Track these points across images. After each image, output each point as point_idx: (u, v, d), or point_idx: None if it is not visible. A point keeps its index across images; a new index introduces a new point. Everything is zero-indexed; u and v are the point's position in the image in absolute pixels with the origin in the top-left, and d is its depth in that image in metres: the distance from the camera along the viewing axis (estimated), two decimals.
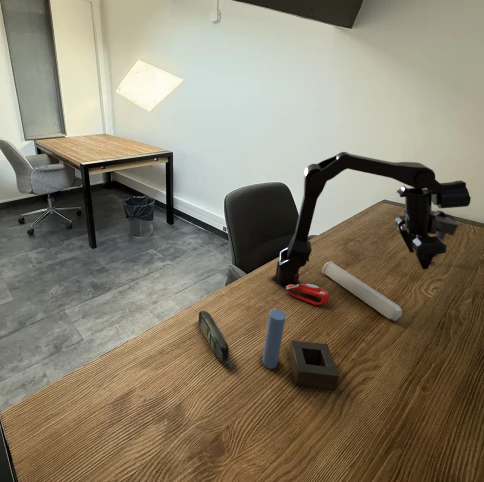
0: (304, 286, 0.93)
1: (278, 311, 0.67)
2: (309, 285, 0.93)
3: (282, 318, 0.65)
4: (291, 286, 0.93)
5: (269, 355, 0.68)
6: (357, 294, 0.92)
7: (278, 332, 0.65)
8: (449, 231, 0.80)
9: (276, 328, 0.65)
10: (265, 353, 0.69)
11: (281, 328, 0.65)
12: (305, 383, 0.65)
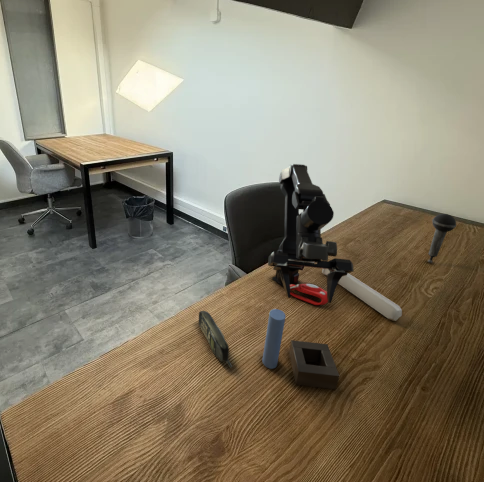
0: (304, 286, 0.93)
1: (278, 311, 0.67)
2: (309, 285, 0.93)
3: (282, 318, 0.65)
4: (291, 286, 0.93)
5: (269, 355, 0.68)
6: (357, 294, 0.92)
7: (278, 332, 0.65)
8: (304, 253, 0.69)
9: (276, 328, 0.65)
10: (265, 353, 0.69)
11: (281, 328, 0.65)
12: (305, 383, 0.65)
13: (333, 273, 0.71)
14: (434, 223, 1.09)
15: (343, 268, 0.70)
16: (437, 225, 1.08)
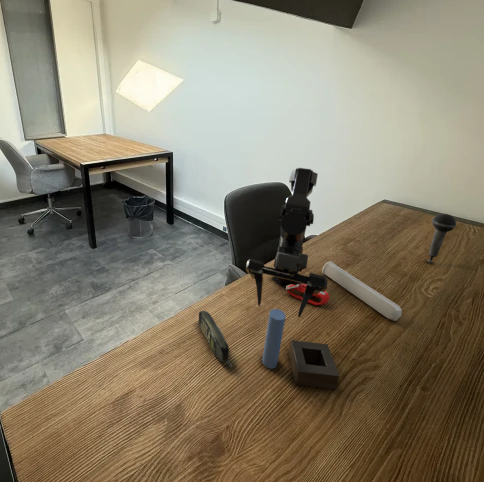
0: (304, 286, 0.93)
1: (278, 311, 0.67)
2: None
3: (282, 318, 0.65)
4: (291, 286, 0.93)
5: (269, 355, 0.68)
6: (357, 294, 0.92)
7: (278, 332, 0.65)
8: None
9: (276, 328, 0.65)
10: (265, 353, 0.69)
11: (281, 328, 0.65)
12: (305, 383, 0.65)
13: (306, 287, 0.70)
14: (434, 223, 1.09)
15: (316, 283, 0.69)
16: (437, 225, 1.08)
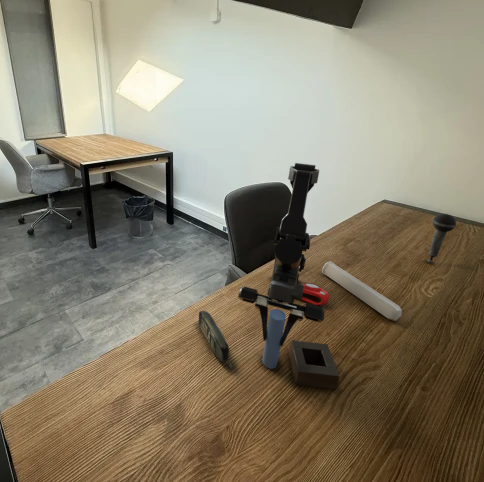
0: (304, 286, 0.93)
1: (278, 311, 0.67)
2: (309, 285, 0.93)
3: (282, 318, 0.65)
4: None
5: (269, 355, 0.68)
6: (357, 294, 0.92)
7: (278, 332, 0.65)
8: None
9: (276, 328, 0.65)
10: (265, 353, 0.69)
11: (281, 328, 0.65)
12: (305, 383, 0.65)
13: None
14: (434, 223, 1.09)
15: (312, 315, 0.65)
16: (437, 225, 1.08)
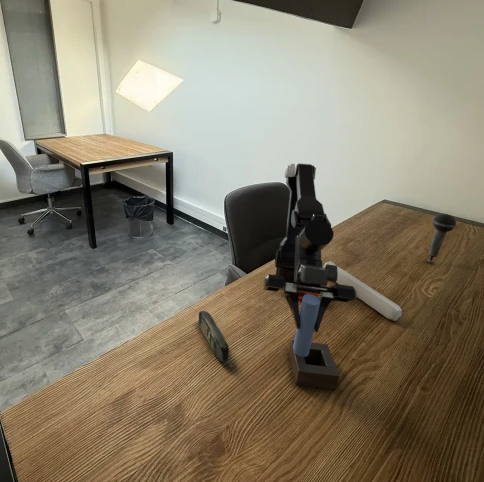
0: None
1: (311, 296, 0.64)
2: None
3: (318, 302, 0.62)
4: None
5: (303, 343, 0.65)
6: (357, 294, 0.92)
7: (314, 317, 0.62)
8: (302, 276, 0.63)
9: (312, 313, 0.62)
10: (298, 341, 0.65)
11: (316, 313, 0.62)
12: (305, 383, 0.65)
13: (320, 298, 0.64)
14: (434, 223, 1.09)
15: (345, 295, 0.63)
16: (437, 225, 1.08)
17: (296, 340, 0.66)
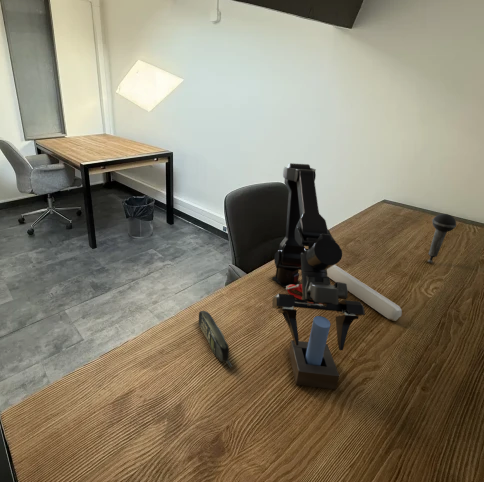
0: None
1: (321, 318, 0.65)
2: None
3: (328, 325, 0.63)
4: (291, 286, 0.93)
5: (314, 364, 0.66)
6: (357, 294, 0.92)
7: (325, 339, 0.64)
8: (313, 296, 0.64)
9: (323, 336, 0.64)
10: (309, 362, 0.67)
11: (327, 335, 0.64)
12: (305, 383, 0.65)
13: (343, 317, 0.66)
14: (434, 223, 1.09)
15: (354, 311, 0.65)
16: (437, 225, 1.08)
17: (307, 361, 0.67)
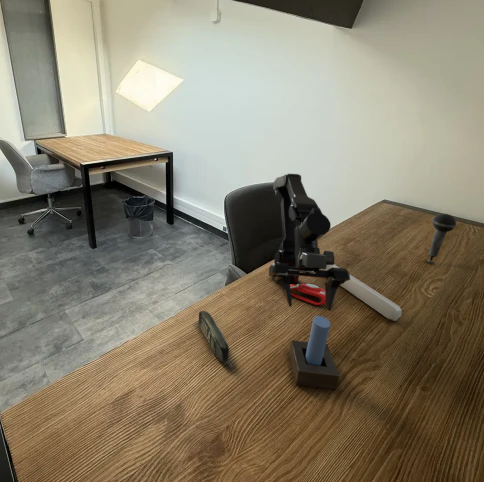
0: (304, 286, 0.93)
1: (321, 318, 0.65)
2: (309, 285, 0.93)
3: (328, 325, 0.63)
4: (291, 286, 0.93)
5: (314, 364, 0.66)
6: (357, 294, 0.92)
7: (325, 339, 0.64)
8: (304, 262, 0.73)
9: (323, 336, 0.64)
10: (309, 362, 0.67)
11: (327, 335, 0.64)
12: (305, 383, 0.65)
13: (331, 281, 0.75)
14: (434, 223, 1.09)
15: (340, 276, 0.74)
16: (437, 225, 1.08)
17: (307, 361, 0.67)
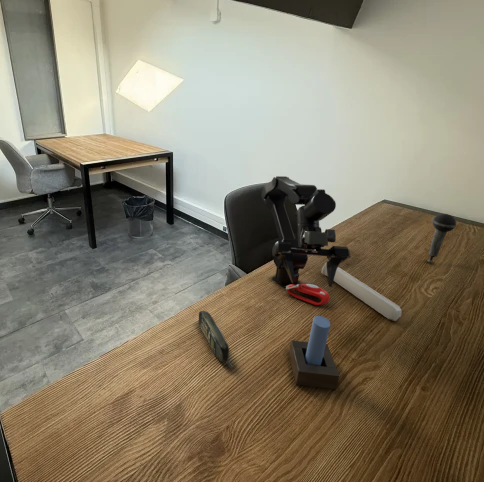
0: (304, 286, 0.93)
1: (321, 318, 0.65)
2: (309, 285, 0.93)
3: (328, 325, 0.63)
4: (291, 286, 0.93)
5: (314, 364, 0.66)
6: (357, 294, 0.92)
7: (325, 339, 0.64)
8: (306, 240, 0.76)
9: (323, 336, 0.64)
10: (309, 362, 0.67)
11: (327, 335, 0.64)
12: (305, 383, 0.65)
13: (332, 259, 0.78)
14: (434, 223, 1.09)
15: (341, 254, 0.77)
16: (437, 225, 1.08)
17: (307, 361, 0.67)
